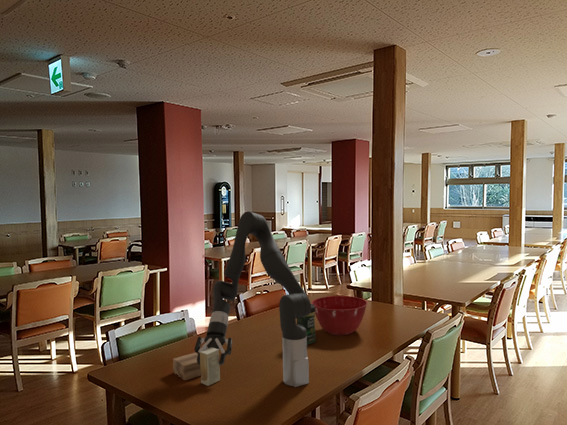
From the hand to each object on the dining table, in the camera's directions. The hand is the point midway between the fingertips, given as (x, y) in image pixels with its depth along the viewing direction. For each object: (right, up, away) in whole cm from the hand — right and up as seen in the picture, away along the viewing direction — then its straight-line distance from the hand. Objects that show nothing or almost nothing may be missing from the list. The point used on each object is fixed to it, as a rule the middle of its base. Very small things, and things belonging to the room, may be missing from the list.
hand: (209, 363), depth 161 cm
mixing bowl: (+57, -4, +58) cm, 81 cm away
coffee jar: (+39, -5, +42) cm, 57 cm away
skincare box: (0, -7, 0) cm, 7 cm away
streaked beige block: (-9, -7, +9) cm, 15 cm away
